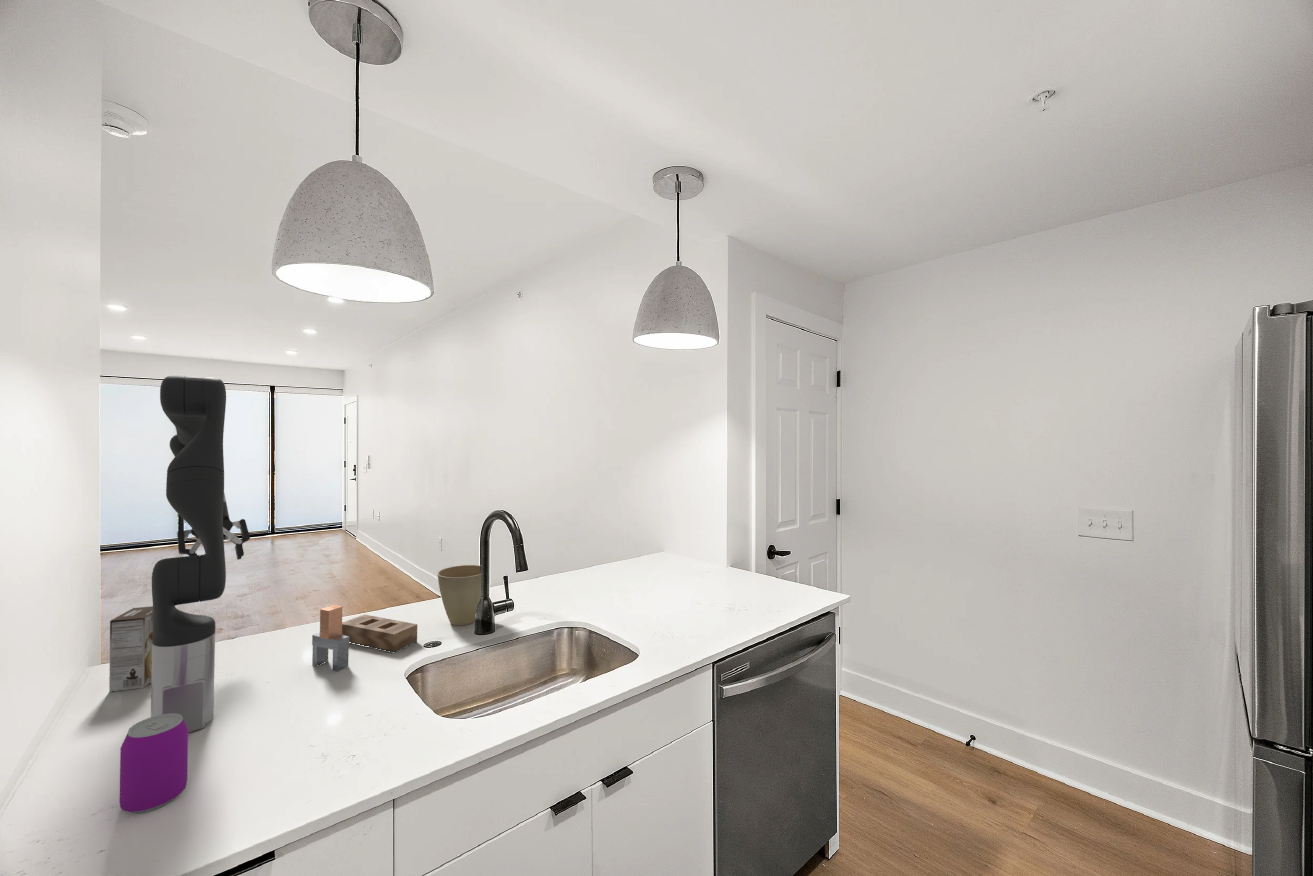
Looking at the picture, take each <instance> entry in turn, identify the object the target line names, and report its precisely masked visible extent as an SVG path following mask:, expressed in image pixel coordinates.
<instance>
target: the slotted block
mask: <svg viewBox="0 0 1313 876" xmlns="http://www.w3.org/2000/svg"><path fill="white" fill-rule="evenodd" d="M341 635H345V636H349V642H351V643H355V644H360V645H364V646H369V647H372V648H377V649H381V650H380V651H382V650H386V651H390V652H389V653H391V652H395V653H397V652H399V651H401V650H403V649H406V648H407V647H406V646H408V647H409V645H410V646H412V645H414V644H416V643H418V624H416V623H412V622H408V621H407V622H406V621H401V620H396V619H392V618H386V617H382V616H381V617H380V616H374V615H369V614H362V615H359V616H357V617H353V618H351V619H348V620H345V621H342V634H341ZM411 644H412V645H411ZM405 647H406V648H405ZM372 648H371V649H372ZM377 649H376V650H377ZM400 649H401V650H400ZM398 650H399V651H398ZM386 651H385V652H386ZM396 651H397V652H396Z"/></svg>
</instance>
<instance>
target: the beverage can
mask: <svg viewBox="0 0 1313 876" xmlns="http://www.w3.org/2000/svg"><path fill="white" fill-rule="evenodd" d="M119 749H120V751H119V753H120V754H119V755H120V757H119V759H120V760H119V800H118V801H119V808H120V810H121V811H124V812H126V813H130V814H134V815H135V814H136V815H137V814H144V813H149V812H152V811H155V810H158V809H160V808H162V807H165V806H166V805H168V804H170V803H171V802H173V801H174V800H176V799H177V798H178V797H179V796H180V795H181V794H182V792H184V791H185V789H186V787H187V783H188V767H189V766H188V765H189V762H188V761H189V759H188V756H189V755H188V754H189V732H188V727H187V725H186V723H185V722H184V720H183V717H182V716H181V715H180V714H177V713H170V714H162V715H158V716H154V717H151V716H150V717H147V718H145V719H143V720H140V721H138V722H136V723H134V724H133V725H132V726H130V727H129V728H128V730H127V734H126V735H125V738H124V740H123V741H122V744H121V746H120V748H119Z"/></svg>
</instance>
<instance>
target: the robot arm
mask: <svg viewBox="0 0 1313 876" xmlns="http://www.w3.org/2000/svg"><path fill="white" fill-rule="evenodd" d="M159 387H160V391H159V401H160V406H161V409H162V411H163V412H164V414H165V415H166V417H167V418H168V419H169V421H170V422H171V423H172V425H173V426H174V427H175V430H176V434H174V435H173V436H172V437H171V438H170V440H169V448H170V451H171V453H172V454H173V456H174V457H173V459H172V460H171V461H170V462H169V465H168V466H167V470H166V483H165V485H166V487H165V497H166V500H167V501H168V503H169V504H170V507H172V508H173V510H174V511H175V512H176V513H177V515H179V516H180V517H181V518H182V520H184V521H185V522H186V523H187V524H188V526H190V528H191V529H186V530H183V529H179V530H177V533H176V537H177V549H178V554H179V555H185V556H177V557H169V558H168V557H167V558H161V559H160V560H158V561H157V562H156V563H155V565H154V566H153V568H152V573H151V596H152V598H151V599H152V600H151V601H152V606H153V638H152V676H151V683H150V684H151V685H150V687H151V688H150V691H151V692H150V718H151V717H154V716H158V715H162V714H170V713H177V714H180V715H181V716H182V717H183V720H184V722H185V723H186V725H187V727H188V733H191V732H195V731H199V730H202V729H204V728H205V726H206V725H207V724H208V723H210V722H211V721H212V720H213V719H214V716H215V715H214V712H215V711H214V708H215V659H216V657H215V656H216V654H215V653H216V621H215V619H214V618H213V617H212V616H207V615H202V614H193V613H189V612H185V611H182V610H180V609H178V608H176V606H179V605H185V604H194V603H200V602H201V603H202V602H208V601H213V600H216V599H219V598H221V596H223V594H224V591H225V589H226V582H227V581H226V580H227V568H226V567H227V566H226V555H225V554H226V553H225V541H224V539H226V540H227V541H228V542H231V543H233V544H234V545H235V546H234V550H235V555H236V560H237V561H238V560H241V559H242V557H244V554H245V552H244V547H243V545H244V544H245V543H246V542H248V541H250V539H251V536H250V533H249V529H248V525H247V521H246V519H244V518H241V519H240V520H237V521H231V519H230V515H229V509H228V505H227V500H226V493H225V464H224V463H225V461H224V459H225V458H224V431H225V419H226V408H227V407H226V406H227V388H226V386H225V383H224V381H223V380H222V379H221V378H217V377H212V376H196V375H169V376H166V377H165V378H163V379H162V381H161V384H160V386H159ZM233 527H235V528H236V529H238V530H240V533H241V538H239V537H238V536H236V535H235V534H234V533H233V532H231V530H232V528H233ZM190 534H191V535H192V536H194V537H195V538H196V541H195V542H194V544H193V545H192V546H191V548H186V541H185V540H186V539H188V538H189V536H190ZM200 546H202V547H203V550H204V554H198V553H197V550H198V549H199V548H200Z"/></svg>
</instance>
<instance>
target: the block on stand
mask: <svg viewBox="0 0 1313 876" xmlns="http://www.w3.org/2000/svg"><path fill="white" fill-rule="evenodd" d="M342 622H343V606H341V605H336V604H332V605H329V606H327V607H323V608H321V609H320V611H319V632H318V633H314V634H312V639H311V646H312V658H311V659H312V660H311V662H312V666H313V665H315V667H318V666H317V665H319V666H321V665H323V664H322V663H324V662H326V663H328V662H329V650H332V671H334V672H339V671H340V670H344V669H345V667H346V668H347V666H348V667H349V654H350V652H349V650H350V649H349V647H350V644H349V636H345V635H341V634H342ZM327 661H328V662H327ZM320 664H321V665H320ZM324 664H325V663H324Z"/></svg>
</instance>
